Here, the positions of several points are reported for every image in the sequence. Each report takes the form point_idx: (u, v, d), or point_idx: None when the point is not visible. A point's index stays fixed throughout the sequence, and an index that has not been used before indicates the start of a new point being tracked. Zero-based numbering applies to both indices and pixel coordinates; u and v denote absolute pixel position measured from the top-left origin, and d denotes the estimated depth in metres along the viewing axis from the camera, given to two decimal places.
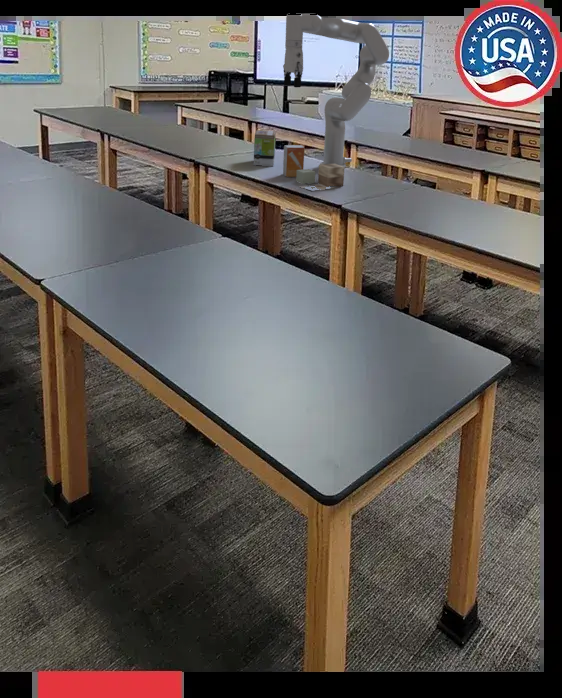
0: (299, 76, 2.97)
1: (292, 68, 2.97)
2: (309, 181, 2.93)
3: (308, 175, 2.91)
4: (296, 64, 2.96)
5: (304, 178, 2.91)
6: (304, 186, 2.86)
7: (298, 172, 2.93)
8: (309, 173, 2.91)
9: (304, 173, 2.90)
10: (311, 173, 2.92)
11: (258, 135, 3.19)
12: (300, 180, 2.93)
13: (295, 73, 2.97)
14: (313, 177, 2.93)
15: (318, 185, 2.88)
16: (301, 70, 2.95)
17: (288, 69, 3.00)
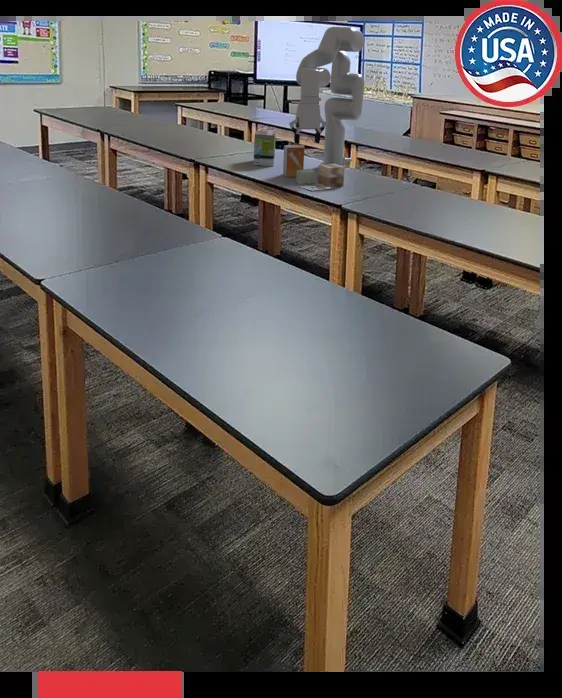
0: None
1: (317, 124, 2.84)
2: (309, 181, 2.93)
3: (308, 175, 2.91)
4: (320, 120, 2.85)
5: (304, 178, 2.91)
6: (304, 186, 2.86)
7: (298, 172, 2.93)
8: (309, 173, 2.91)
9: (304, 173, 2.90)
10: (311, 173, 2.91)
11: (258, 135, 3.19)
12: (300, 180, 2.93)
13: (320, 129, 2.86)
14: (313, 177, 2.93)
15: (318, 185, 2.88)
16: None
17: (310, 126, 2.83)
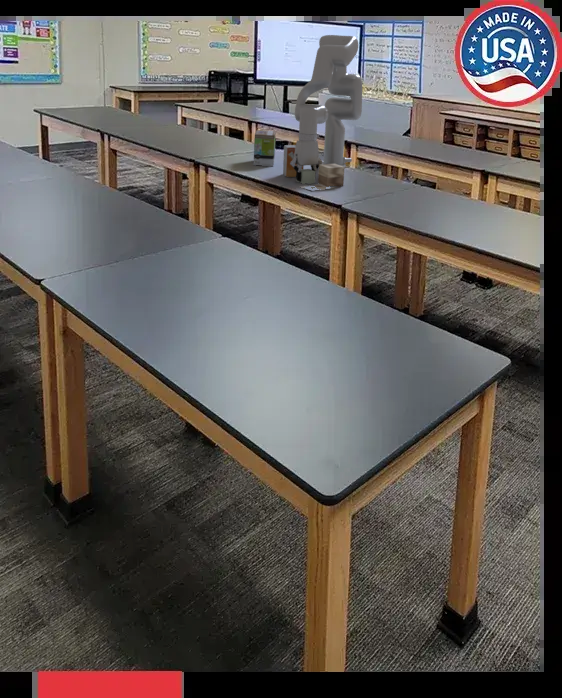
0: None
1: (316, 160, 2.91)
2: (309, 181, 2.93)
3: (308, 175, 2.91)
4: None
5: (304, 177, 2.91)
6: (304, 186, 2.86)
7: None
8: (309, 173, 2.91)
9: (304, 173, 2.90)
10: (311, 173, 2.91)
11: (258, 135, 3.19)
12: None
13: (315, 166, 2.93)
14: (313, 177, 2.93)
15: (318, 185, 2.88)
16: None
17: (308, 162, 2.90)
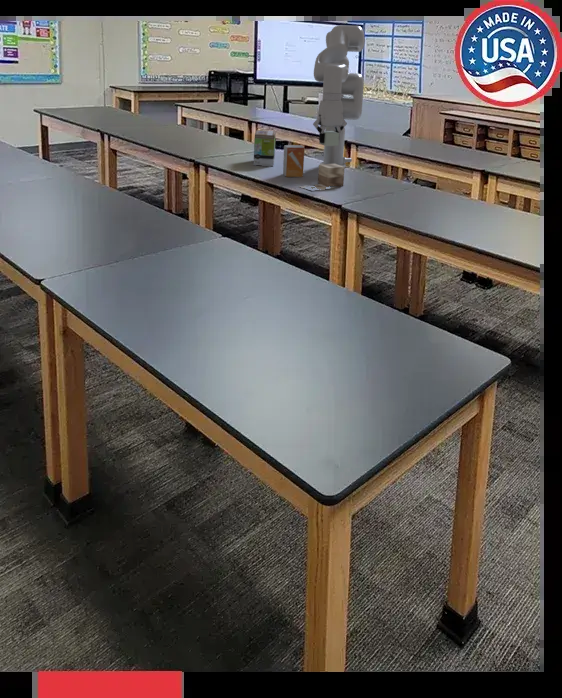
0: None
1: (340, 121, 2.81)
2: (332, 143, 2.83)
3: (332, 136, 2.81)
4: None
5: (327, 139, 2.81)
6: (304, 186, 2.86)
7: None
8: (333, 134, 2.81)
9: (327, 134, 2.80)
10: (335, 134, 2.81)
11: (258, 135, 3.19)
12: None
13: (339, 128, 2.83)
14: (337, 139, 2.83)
15: (318, 185, 2.88)
16: None
17: (332, 123, 2.80)
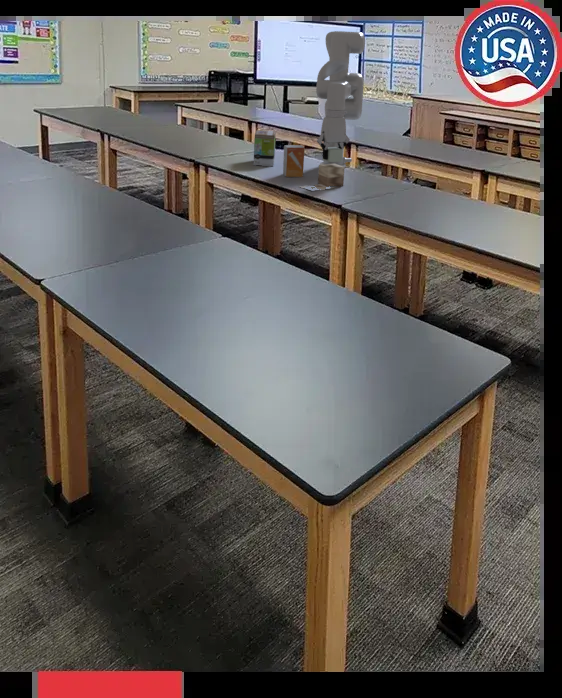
0: None
1: (343, 138, 2.83)
2: (336, 159, 2.85)
3: (335, 153, 2.83)
4: None
5: (331, 155, 2.83)
6: (304, 186, 2.86)
7: None
8: (336, 151, 2.83)
9: (331, 150, 2.82)
10: (338, 151, 2.84)
11: (258, 135, 3.19)
12: None
13: (342, 144, 2.85)
14: (340, 155, 2.85)
15: (318, 185, 2.88)
16: None
17: (335, 140, 2.82)
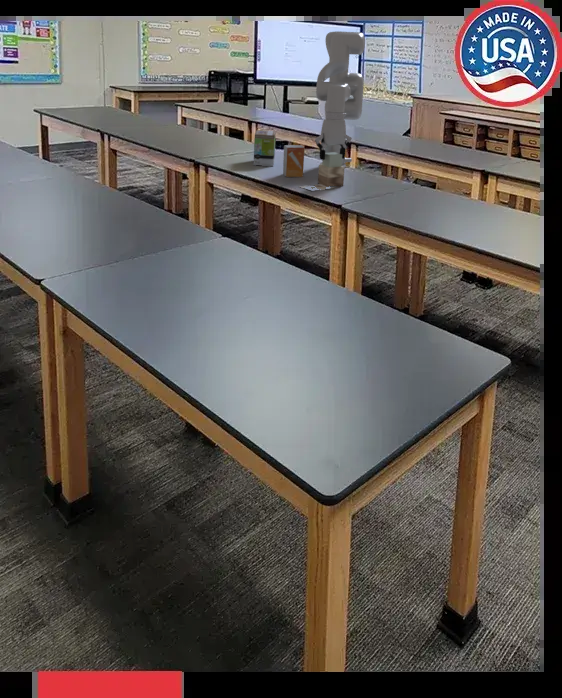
0: None
1: (343, 140, 2.84)
2: (336, 164, 2.86)
3: (335, 158, 2.85)
4: None
5: (331, 161, 2.84)
6: (304, 186, 2.86)
7: None
8: (336, 156, 2.84)
9: (331, 156, 2.83)
10: (338, 156, 2.85)
11: (258, 135, 3.19)
12: (326, 163, 2.86)
13: (345, 144, 2.86)
14: (340, 160, 2.86)
15: (318, 185, 2.88)
16: None
17: (335, 142, 2.83)
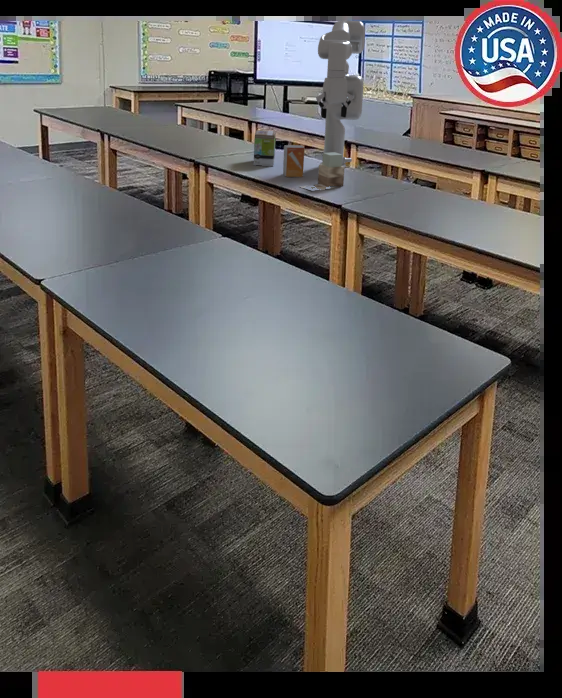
0: None
1: (344, 98, 2.84)
2: (336, 164, 2.86)
3: (335, 158, 2.85)
4: None
5: (331, 161, 2.84)
6: (304, 186, 2.86)
7: (324, 155, 2.87)
8: (336, 156, 2.84)
9: (331, 156, 2.83)
10: (338, 156, 2.85)
11: (258, 135, 3.19)
12: (326, 163, 2.86)
13: (346, 103, 2.87)
14: (340, 160, 2.86)
15: (318, 185, 2.88)
16: None
17: (336, 100, 2.83)
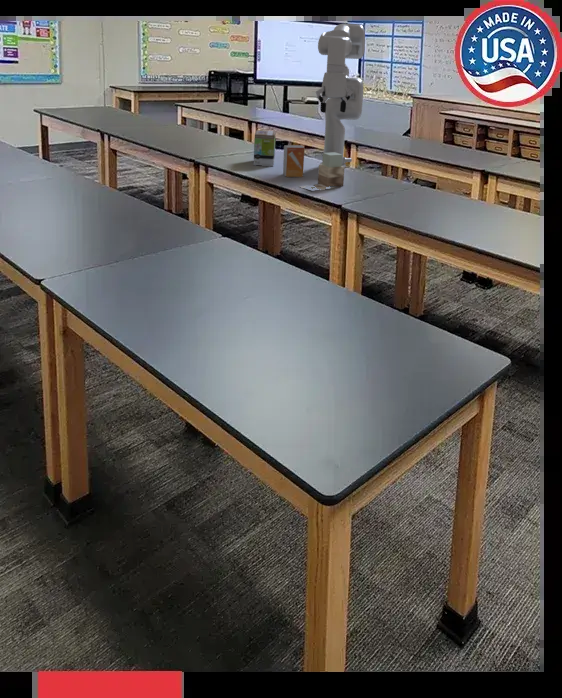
0: None
1: (343, 93, 2.88)
2: (336, 164, 2.86)
3: (335, 158, 2.85)
4: (345, 89, 2.89)
5: (331, 161, 2.84)
6: (304, 186, 2.86)
7: (324, 155, 2.87)
8: (336, 156, 2.84)
9: (331, 156, 2.83)
10: (338, 156, 2.85)
11: (258, 135, 3.19)
12: (326, 163, 2.86)
13: (345, 98, 2.91)
14: (340, 160, 2.86)
15: (318, 185, 2.88)
16: None
17: (336, 95, 2.87)
